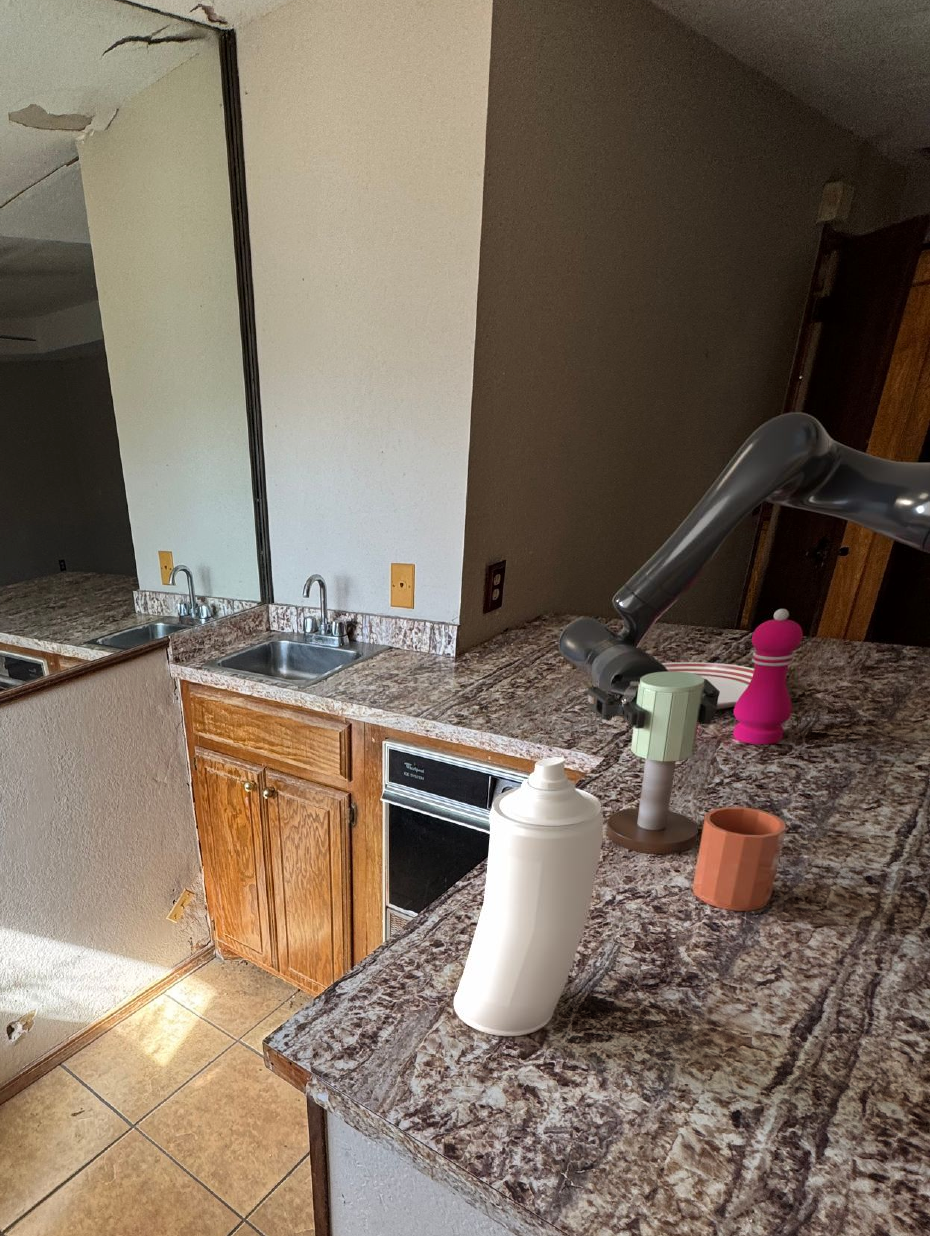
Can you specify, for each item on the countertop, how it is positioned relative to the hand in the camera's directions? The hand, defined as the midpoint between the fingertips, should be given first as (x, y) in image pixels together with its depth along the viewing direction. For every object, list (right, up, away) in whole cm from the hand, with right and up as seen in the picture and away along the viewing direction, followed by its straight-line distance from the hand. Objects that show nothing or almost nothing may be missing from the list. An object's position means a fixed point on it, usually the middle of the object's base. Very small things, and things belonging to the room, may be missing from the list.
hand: (674, 718), depth 85 cm
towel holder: (+3, -14, +9) cm, 17 cm away
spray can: (-24, -30, -14) cm, 41 cm away
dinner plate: (+34, +11, +50) cm, 62 cm away
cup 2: (+4, -20, -4) cm, 21 cm away
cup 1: (+1, -3, +4) cm, 6 cm away
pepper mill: (+32, +1, +31) cm, 45 cm away
